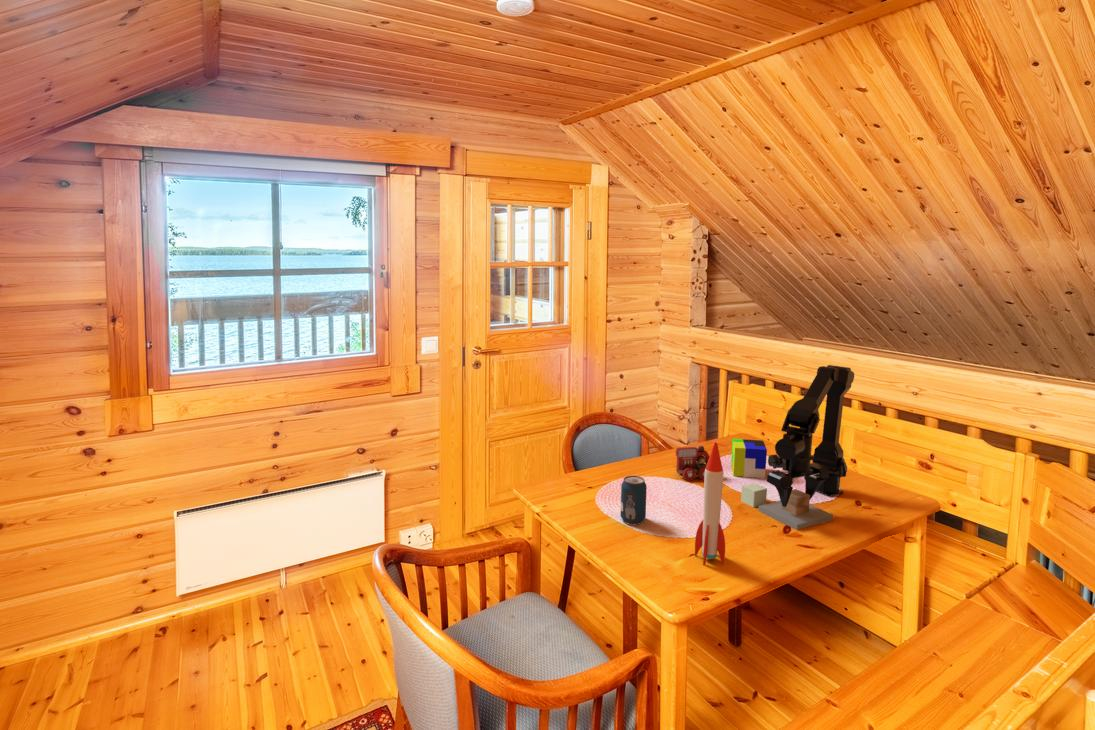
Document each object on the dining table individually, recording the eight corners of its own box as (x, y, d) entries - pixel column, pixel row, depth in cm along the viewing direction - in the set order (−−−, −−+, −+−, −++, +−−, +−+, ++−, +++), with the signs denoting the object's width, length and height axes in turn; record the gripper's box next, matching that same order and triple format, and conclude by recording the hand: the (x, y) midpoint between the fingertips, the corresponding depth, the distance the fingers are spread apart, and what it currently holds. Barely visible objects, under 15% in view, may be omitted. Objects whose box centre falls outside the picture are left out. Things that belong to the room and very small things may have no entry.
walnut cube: (794, 505, 184) (795, 488, 183) (808, 511, 180) (810, 495, 179) (782, 508, 182) (783, 492, 181) (795, 515, 177) (797, 498, 176)
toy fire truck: (715, 479, 208) (717, 449, 206) (679, 481, 206) (680, 451, 204) (706, 472, 215) (708, 442, 213) (671, 474, 213) (672, 444, 211)
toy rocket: (694, 555, 158) (698, 439, 152) (715, 553, 159) (720, 437, 153) (703, 566, 152) (708, 446, 147) (725, 564, 153) (731, 444, 148)
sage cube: (753, 498, 193) (754, 482, 192) (765, 504, 189) (767, 488, 188) (741, 501, 191) (742, 485, 190) (753, 507, 186) (754, 491, 185)
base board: (793, 501, 190) (793, 497, 190) (832, 519, 178) (833, 514, 178) (758, 510, 184) (758, 505, 184) (796, 529, 172) (797, 524, 171)
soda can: (640, 514, 181) (642, 474, 179) (648, 524, 175) (650, 483, 172) (617, 515, 180) (618, 475, 178) (624, 526, 174) (625, 484, 171)
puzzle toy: (764, 478, 209) (766, 449, 207) (733, 476, 211) (735, 447, 209) (761, 468, 219) (763, 440, 217) (731, 466, 220) (732, 438, 219)
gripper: (800, 438, 188) (796, 488, 191) (753, 447, 180) (750, 499, 183) (832, 449, 179) (828, 501, 182) (784, 459, 170) (780, 513, 173)
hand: (795, 503), depth 180 cm, fingers open, 9 cm apart
